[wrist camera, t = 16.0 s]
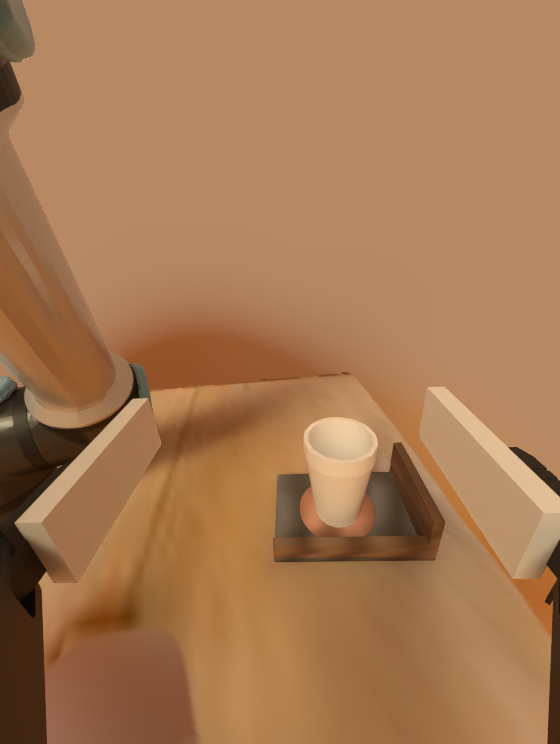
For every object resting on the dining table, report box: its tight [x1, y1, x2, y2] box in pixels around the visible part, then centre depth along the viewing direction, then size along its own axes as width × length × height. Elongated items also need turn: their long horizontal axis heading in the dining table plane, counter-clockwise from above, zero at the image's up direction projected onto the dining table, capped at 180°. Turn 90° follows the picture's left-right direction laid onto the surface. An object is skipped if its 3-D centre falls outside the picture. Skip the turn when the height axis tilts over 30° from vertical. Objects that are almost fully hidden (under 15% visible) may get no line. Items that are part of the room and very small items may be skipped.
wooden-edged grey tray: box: [273, 443, 445, 562], centre depth 42 cm, size 20×14×7 cm
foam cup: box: [303, 417, 378, 528], centre depth 40 cm, size 10×9×13 cm
